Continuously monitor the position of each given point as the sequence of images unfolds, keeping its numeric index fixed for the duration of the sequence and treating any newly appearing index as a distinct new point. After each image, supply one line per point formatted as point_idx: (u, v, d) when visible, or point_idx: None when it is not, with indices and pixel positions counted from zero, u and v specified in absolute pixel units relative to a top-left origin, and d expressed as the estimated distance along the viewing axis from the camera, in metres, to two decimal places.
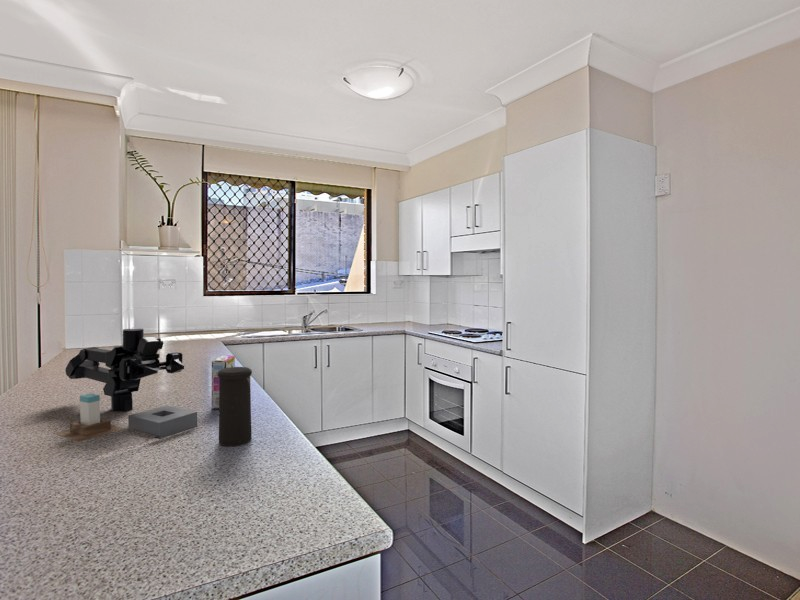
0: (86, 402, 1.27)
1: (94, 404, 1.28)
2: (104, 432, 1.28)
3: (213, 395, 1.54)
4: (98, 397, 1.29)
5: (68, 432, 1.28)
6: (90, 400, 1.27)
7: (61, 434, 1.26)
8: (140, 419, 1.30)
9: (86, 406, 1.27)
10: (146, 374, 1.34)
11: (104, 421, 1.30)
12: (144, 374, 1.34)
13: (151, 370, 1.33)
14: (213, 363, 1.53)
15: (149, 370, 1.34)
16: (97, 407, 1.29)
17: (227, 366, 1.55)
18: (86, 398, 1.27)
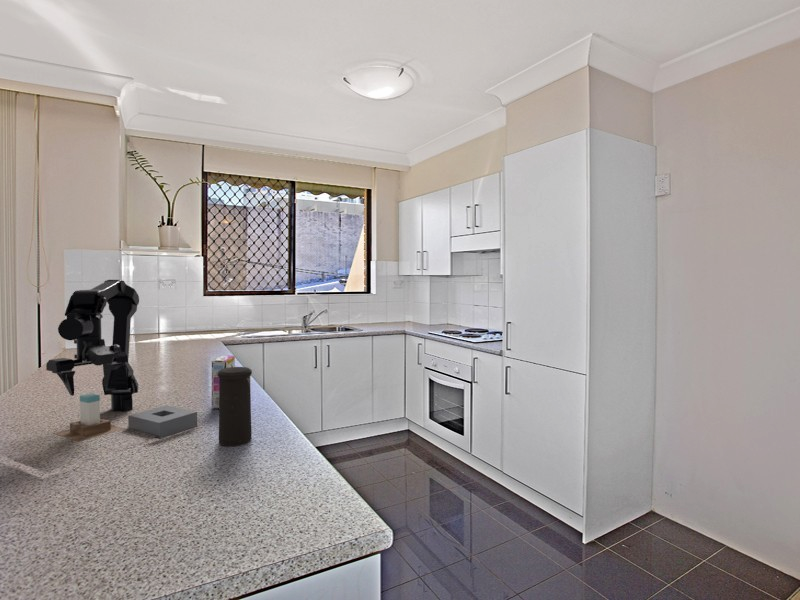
0: (86, 402, 1.27)
1: (94, 404, 1.28)
2: (104, 432, 1.28)
3: (213, 395, 1.54)
4: (98, 397, 1.29)
5: (68, 432, 1.28)
6: (90, 400, 1.27)
7: (61, 434, 1.26)
8: (140, 419, 1.30)
9: (86, 406, 1.27)
10: (66, 386, 1.24)
11: (104, 421, 1.30)
12: (65, 384, 1.24)
13: (70, 392, 1.24)
14: (213, 363, 1.53)
15: (69, 390, 1.24)
16: (97, 407, 1.29)
17: (227, 366, 1.55)
18: (86, 398, 1.27)
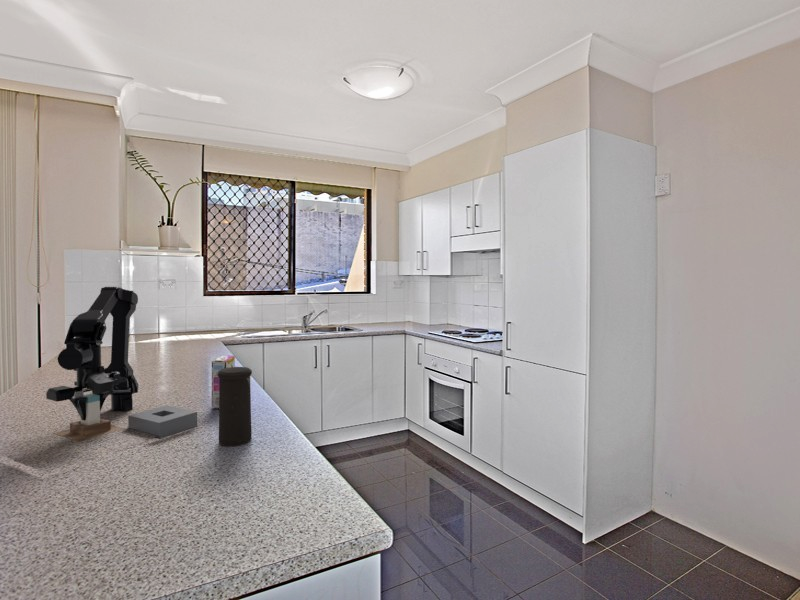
0: (86, 402, 1.27)
1: (94, 404, 1.28)
2: (104, 432, 1.28)
3: (213, 395, 1.54)
4: (98, 397, 1.29)
5: (68, 432, 1.28)
6: (90, 400, 1.27)
7: (61, 434, 1.26)
8: (140, 419, 1.30)
9: (86, 406, 1.27)
10: (77, 411, 1.27)
11: (104, 421, 1.30)
12: (77, 409, 1.27)
13: (82, 417, 1.27)
14: (213, 363, 1.53)
15: (81, 415, 1.27)
16: (97, 407, 1.29)
17: (227, 366, 1.55)
18: None
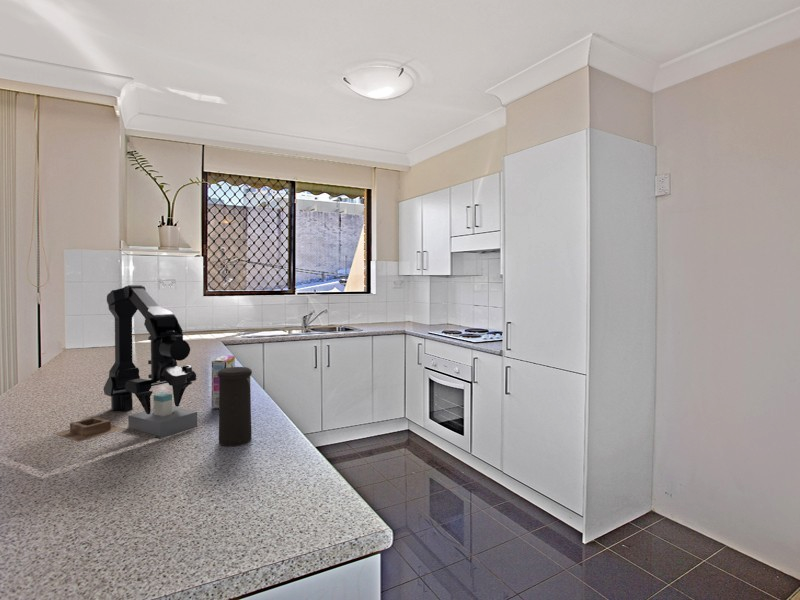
0: (160, 401, 1.32)
1: (168, 403, 1.33)
2: (104, 432, 1.28)
3: (213, 395, 1.54)
4: (171, 396, 1.34)
5: (68, 432, 1.28)
6: (164, 399, 1.32)
7: (61, 434, 1.26)
8: (140, 419, 1.30)
9: (160, 405, 1.32)
10: (142, 405, 1.30)
11: (104, 421, 1.30)
12: (142, 403, 1.30)
13: (147, 411, 1.30)
14: (213, 363, 1.53)
15: (146, 409, 1.29)
16: (170, 406, 1.34)
17: (227, 366, 1.55)
18: (160, 397, 1.32)
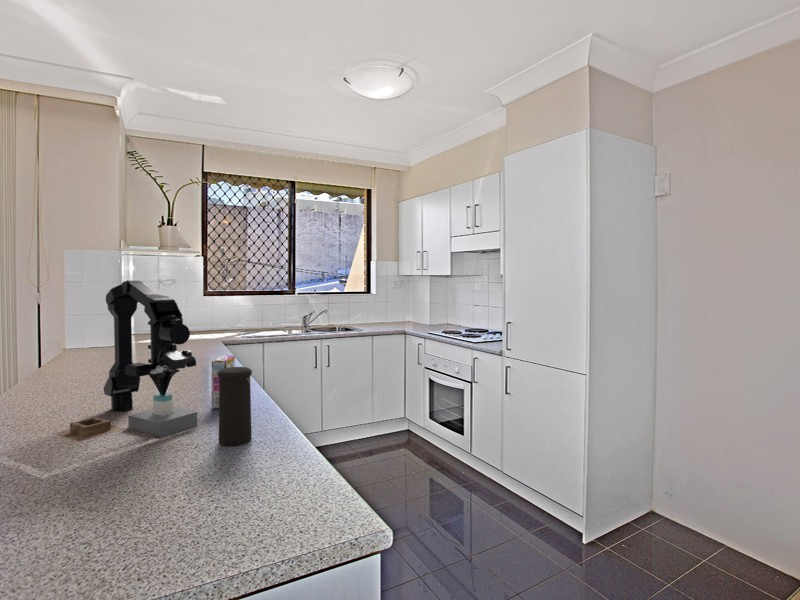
0: (160, 401, 1.32)
1: (168, 403, 1.33)
2: (104, 432, 1.28)
3: (213, 395, 1.54)
4: (171, 396, 1.34)
5: (68, 432, 1.28)
6: (164, 399, 1.32)
7: (61, 434, 1.26)
8: (140, 419, 1.30)
9: (160, 405, 1.32)
10: (156, 386, 1.33)
11: (104, 421, 1.30)
12: (156, 384, 1.33)
13: (161, 392, 1.33)
14: (213, 363, 1.53)
15: (160, 390, 1.33)
16: (170, 406, 1.34)
17: (227, 366, 1.55)
18: (160, 397, 1.32)
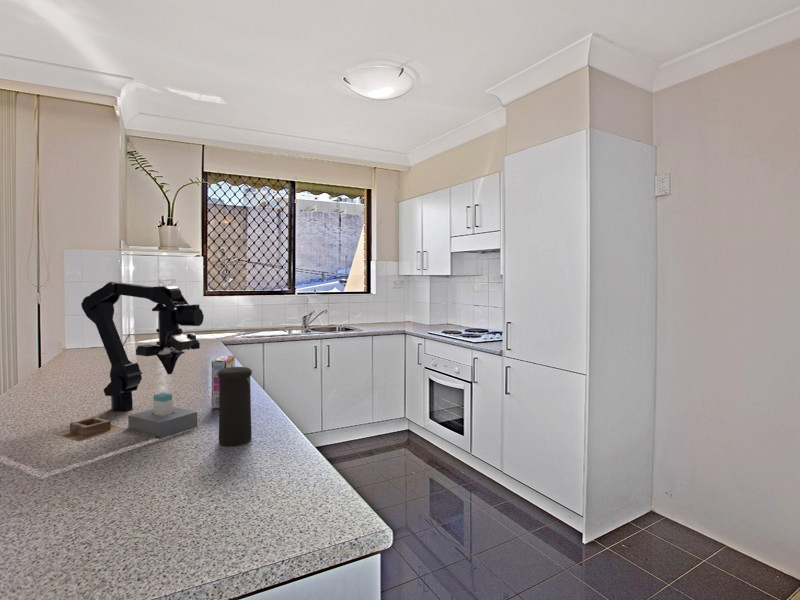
0: (160, 401, 1.32)
1: (168, 403, 1.33)
2: (104, 432, 1.28)
3: (213, 395, 1.54)
4: (171, 396, 1.34)
5: (68, 432, 1.28)
6: (164, 399, 1.32)
7: (61, 434, 1.26)
8: (140, 419, 1.30)
9: (160, 405, 1.32)
10: (164, 366, 1.47)
11: (104, 421, 1.30)
12: (163, 364, 1.47)
13: (168, 371, 1.47)
14: (213, 363, 1.53)
15: (167, 369, 1.47)
16: (170, 406, 1.34)
17: (227, 366, 1.55)
18: (160, 397, 1.32)
